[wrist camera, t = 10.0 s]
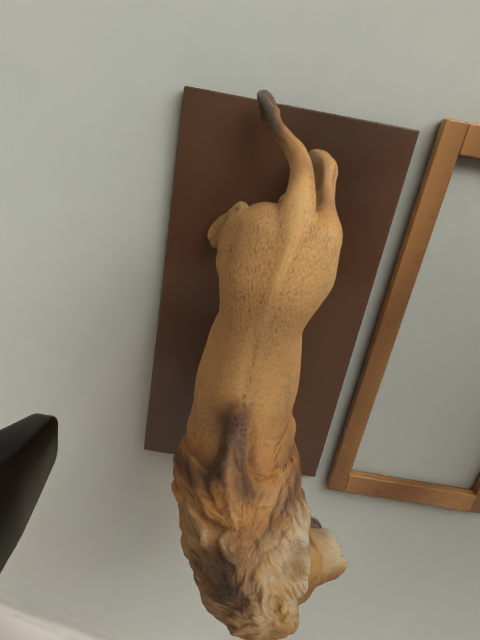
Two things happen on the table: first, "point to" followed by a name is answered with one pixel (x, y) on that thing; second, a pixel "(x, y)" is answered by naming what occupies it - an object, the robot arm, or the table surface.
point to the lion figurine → (260, 404)
